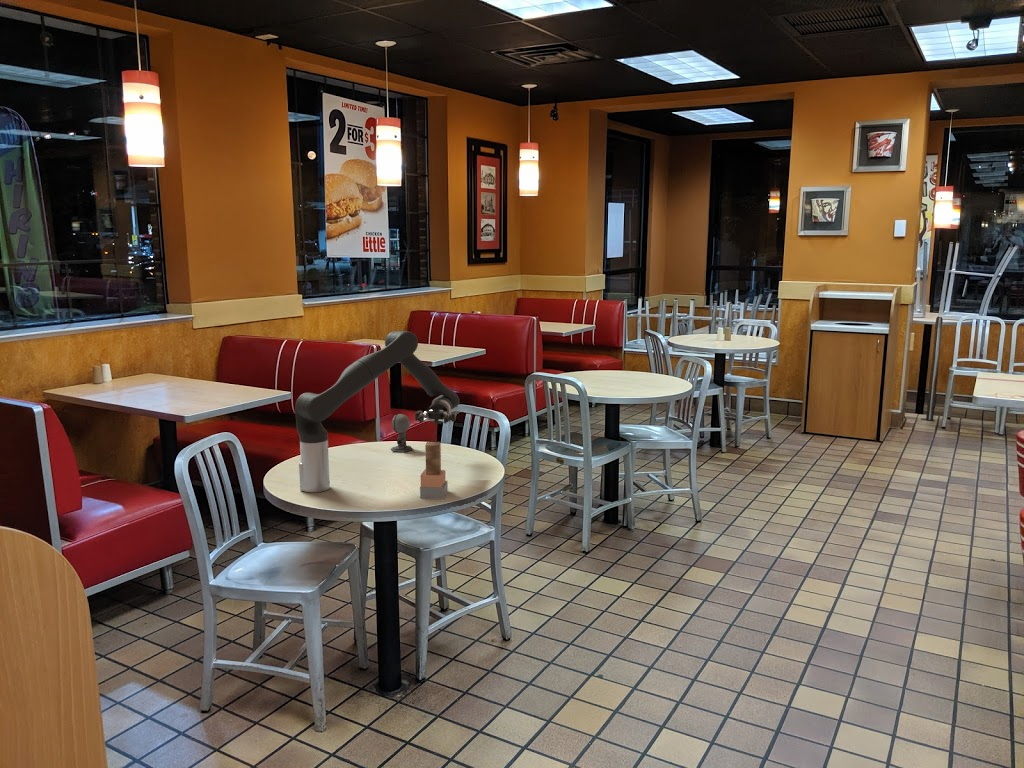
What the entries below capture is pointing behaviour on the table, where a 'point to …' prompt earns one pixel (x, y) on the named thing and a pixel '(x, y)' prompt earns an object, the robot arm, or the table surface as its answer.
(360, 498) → the table surface
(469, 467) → the table surface
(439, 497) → the tower base
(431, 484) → the tower top
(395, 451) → the grey round-topped stand
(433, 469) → the walnut block
